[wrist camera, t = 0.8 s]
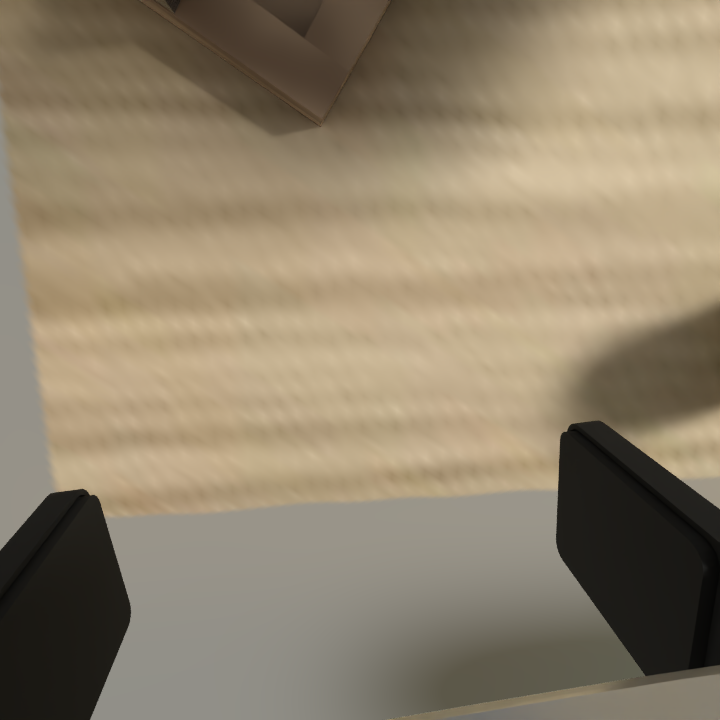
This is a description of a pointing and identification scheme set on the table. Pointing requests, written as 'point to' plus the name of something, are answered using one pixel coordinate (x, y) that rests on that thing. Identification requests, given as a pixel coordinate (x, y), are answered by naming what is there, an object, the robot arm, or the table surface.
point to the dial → (170, 4)
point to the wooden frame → (284, 42)
